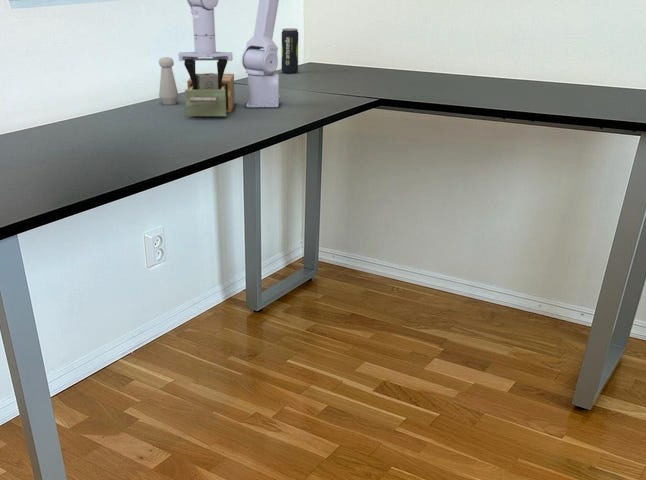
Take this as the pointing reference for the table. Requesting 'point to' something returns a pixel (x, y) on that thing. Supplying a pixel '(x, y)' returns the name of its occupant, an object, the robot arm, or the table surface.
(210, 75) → the dice cube
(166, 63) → the salt shaker
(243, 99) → the table surface
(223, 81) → the tan wooden box
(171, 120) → the table surface
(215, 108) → the drawer
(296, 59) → the beverage can
